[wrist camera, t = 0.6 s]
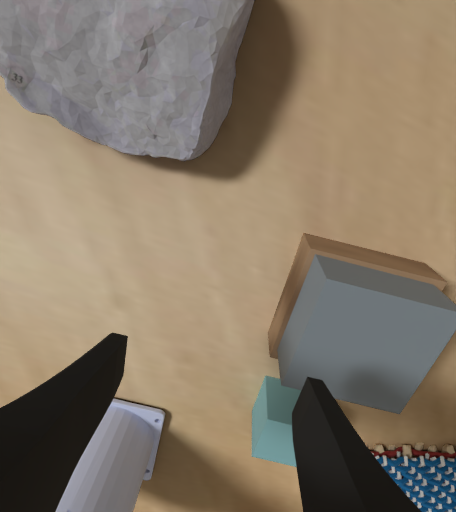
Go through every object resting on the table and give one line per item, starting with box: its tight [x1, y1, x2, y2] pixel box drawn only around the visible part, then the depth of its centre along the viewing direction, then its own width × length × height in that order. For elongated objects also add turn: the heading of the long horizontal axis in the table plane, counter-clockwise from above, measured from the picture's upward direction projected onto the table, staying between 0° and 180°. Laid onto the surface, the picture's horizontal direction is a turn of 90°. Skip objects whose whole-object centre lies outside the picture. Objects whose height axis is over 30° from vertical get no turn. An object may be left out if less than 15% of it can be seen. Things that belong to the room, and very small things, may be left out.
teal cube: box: [252, 376, 301, 467], centre depth 24 cm, size 4×4×4 cm
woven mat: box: [366, 443, 456, 512], centre depth 28 cm, size 10×11×2 cm
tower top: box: [277, 254, 456, 414], centre depth 18 cm, size 7×7×3 cm
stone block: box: [0, 0, 255, 161], centre depth 15 cm, size 12×5×10 cm
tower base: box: [268, 233, 447, 359], centre depth 21 cm, size 8×8×3 cm
